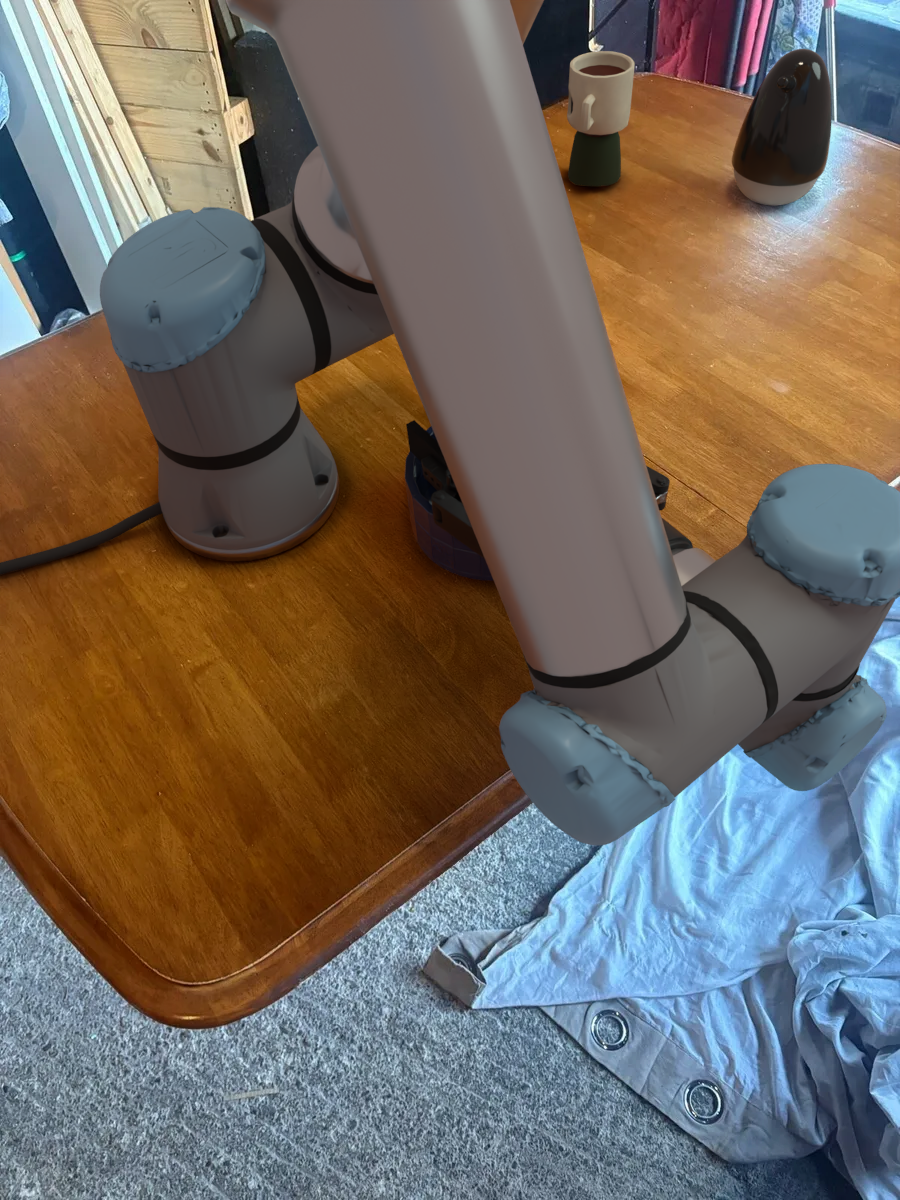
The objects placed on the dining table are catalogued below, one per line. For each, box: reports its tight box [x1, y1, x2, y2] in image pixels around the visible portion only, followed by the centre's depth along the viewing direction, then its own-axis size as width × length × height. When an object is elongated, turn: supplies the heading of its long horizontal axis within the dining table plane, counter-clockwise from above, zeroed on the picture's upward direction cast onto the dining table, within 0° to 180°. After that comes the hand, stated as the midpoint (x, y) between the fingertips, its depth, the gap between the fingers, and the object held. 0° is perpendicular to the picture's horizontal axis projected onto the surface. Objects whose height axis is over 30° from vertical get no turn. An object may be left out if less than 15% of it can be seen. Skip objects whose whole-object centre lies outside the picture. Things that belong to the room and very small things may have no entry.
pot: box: [404, 425, 494, 582], centre depth 72 cm, size 14×14×6 cm
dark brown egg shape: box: [731, 48, 833, 207], centre depth 97 cm, size 10×10×15 cm
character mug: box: [566, 50, 636, 187], centre depth 103 cm, size 11×7×13 cm, turn 156°
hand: (456, 413), depth 71 cm, fingers closed on canned tomato, 8 cm apart
